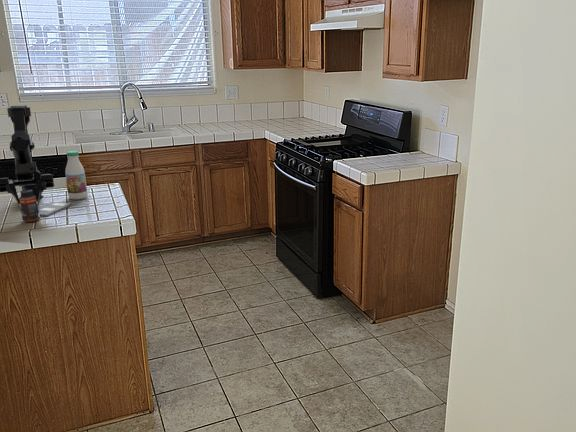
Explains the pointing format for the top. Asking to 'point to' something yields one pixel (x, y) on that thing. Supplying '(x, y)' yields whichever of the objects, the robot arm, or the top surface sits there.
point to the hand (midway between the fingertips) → (28, 202)
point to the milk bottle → (75, 177)
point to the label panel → (52, 208)
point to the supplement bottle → (29, 206)
